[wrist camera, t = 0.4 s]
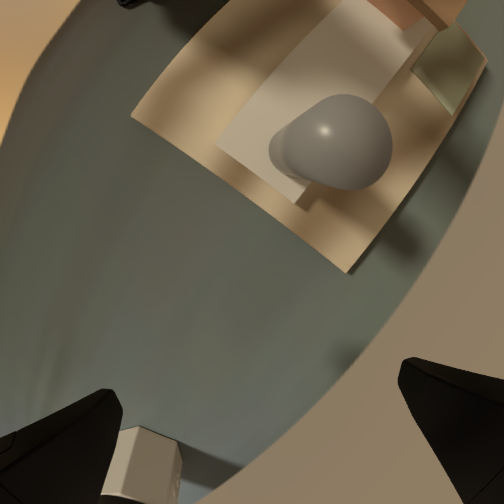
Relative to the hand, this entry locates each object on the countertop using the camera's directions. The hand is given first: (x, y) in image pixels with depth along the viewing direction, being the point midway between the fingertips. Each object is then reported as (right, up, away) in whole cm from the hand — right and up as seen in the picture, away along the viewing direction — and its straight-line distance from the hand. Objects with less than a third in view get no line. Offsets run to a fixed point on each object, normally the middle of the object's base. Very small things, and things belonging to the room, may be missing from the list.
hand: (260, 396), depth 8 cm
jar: (-12, -19, +20) cm, 30 cm away
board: (+7, +18, +9) cm, 21 cm away
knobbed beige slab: (+6, +17, +8) cm, 20 cm away
